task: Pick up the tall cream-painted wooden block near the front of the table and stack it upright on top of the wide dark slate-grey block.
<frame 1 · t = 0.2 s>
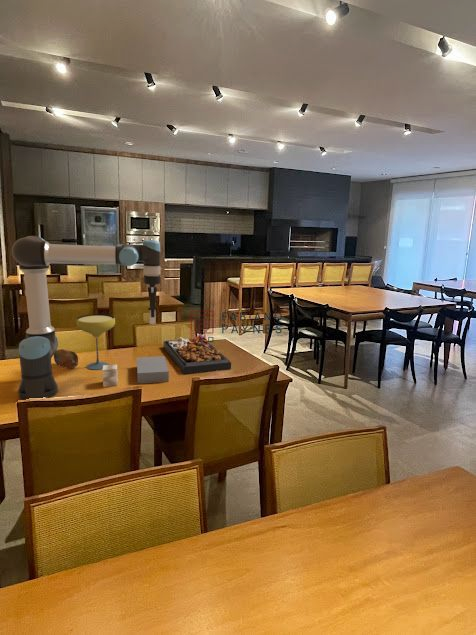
hand: (152, 320, 195), 27 cm above the table, tool pointing down, fingers open, 13 cm apart
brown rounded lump: (66, 366, 209), on the table
slate block: (152, 373, 203), on the table
cream block: (110, 383, 190), on the table
cocktail glass: (98, 366, 210), on the table
food platter: (194, 358, 229), on the table
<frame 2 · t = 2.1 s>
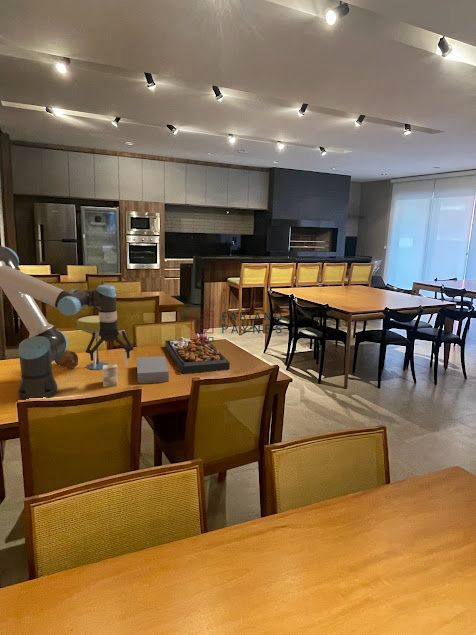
hand: (110, 366, 188), 8 cm above the table, tool pointing down, fingers open, 13 cm apart
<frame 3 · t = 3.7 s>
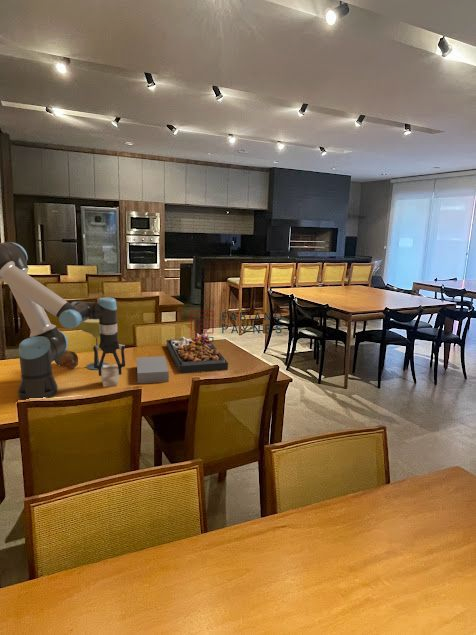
hand: (110, 381, 189), 1 cm above the table, tool pointing down, fingers closed on cream block, 6 cm apart
cream block: (110, 383, 190), on the table, touching gripper
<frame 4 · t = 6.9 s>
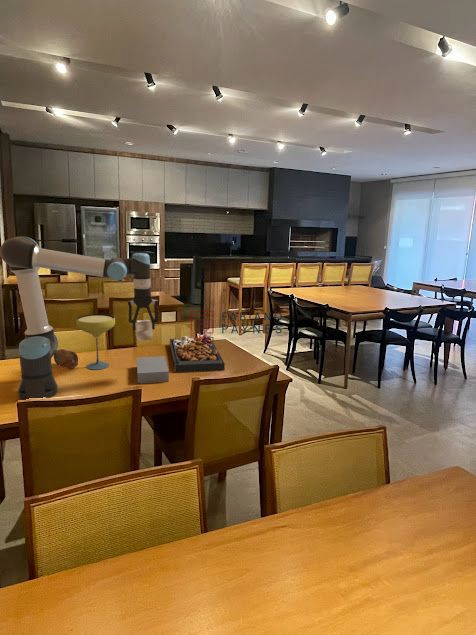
hand: (144, 336, 195), 20 cm above the table, tool pointing down, fingers closed on cream block, 6 cm apart
cream block: (144, 338, 195), point 19 cm above the table, touching gripper
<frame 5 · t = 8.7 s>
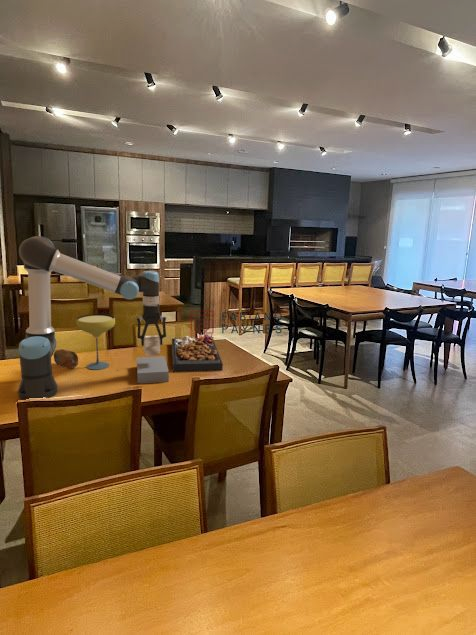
hand: (152, 351, 200), 11 cm above the table, tool pointing down, fingers closed on cream block, 6 cm apart
cream block: (152, 353, 200), point 11 cm above the table, touching gripper
when the fingers open (7 cm above the table, at t = 10.3 s): cream block stays where it is, resting on slate block.
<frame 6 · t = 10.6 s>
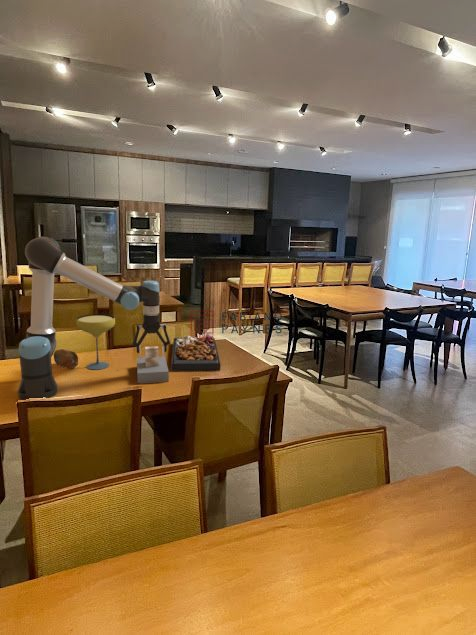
hand: (151, 358, 201), 8 cm above the table, tool pointing down, fingers open, 10 cm apart
cream block: (151, 364, 202), point 5 cm above the table, touching slate block
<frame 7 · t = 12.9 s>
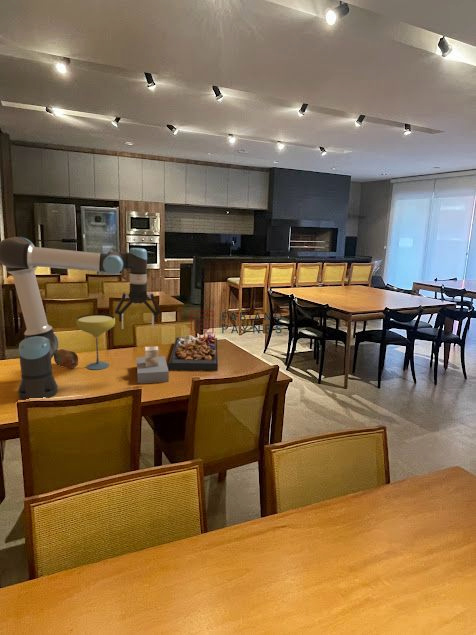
hand: (137, 328, 193), 24 cm above the table, tool pointing down, fingers open, 13 cm apart
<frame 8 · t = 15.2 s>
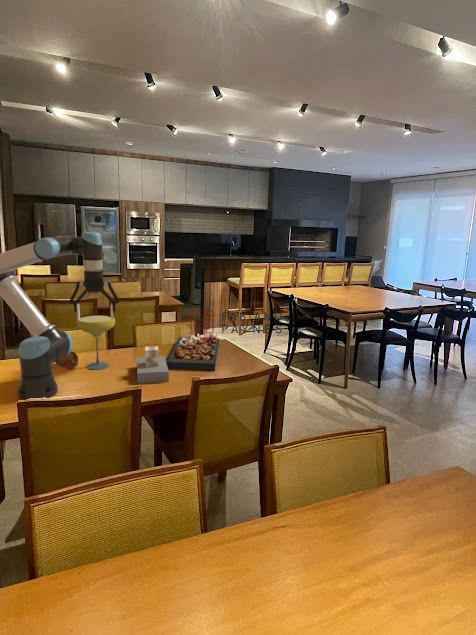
hand: (95, 319, 179), 31 cm above the table, tool pointing down, fingers open, 13 cm apart
at the end: cream block inside the target area on the slate block (0.1 cm from its centre), point 5.0 cm above the slate block's base; cream block tilted 0°; the gripper is holding nothing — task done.
